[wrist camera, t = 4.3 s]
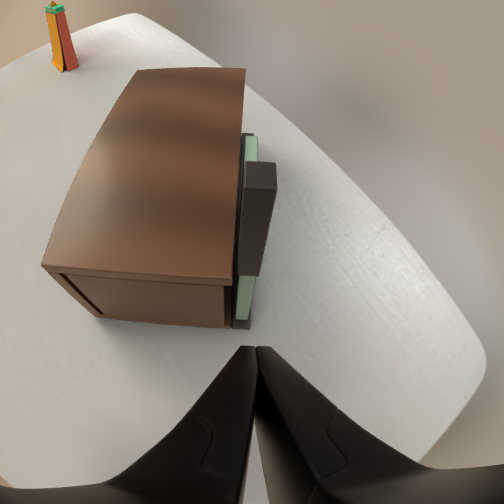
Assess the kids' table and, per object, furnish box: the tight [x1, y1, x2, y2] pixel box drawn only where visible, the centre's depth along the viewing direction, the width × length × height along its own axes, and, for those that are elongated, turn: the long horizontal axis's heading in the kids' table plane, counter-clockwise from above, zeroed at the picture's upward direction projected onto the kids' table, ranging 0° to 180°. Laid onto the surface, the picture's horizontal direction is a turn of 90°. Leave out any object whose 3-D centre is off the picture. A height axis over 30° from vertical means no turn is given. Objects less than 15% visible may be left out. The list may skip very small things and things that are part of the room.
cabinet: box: [41, 67, 254, 329], centre depth 22 cm, size 20×11×8 cm, turn 179°
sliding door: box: [236, 136, 277, 320], centre depth 17 cm, size 10×1×13 cm, turn 179°
